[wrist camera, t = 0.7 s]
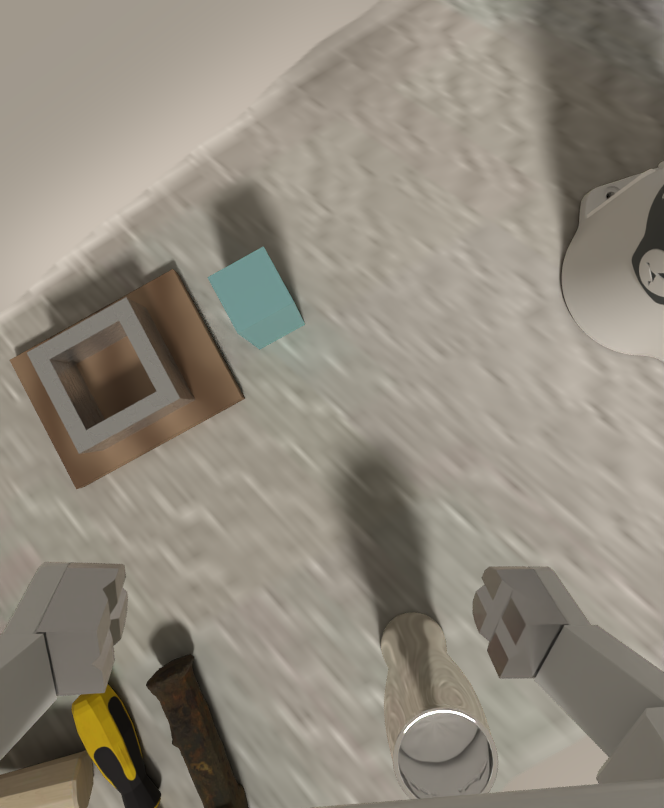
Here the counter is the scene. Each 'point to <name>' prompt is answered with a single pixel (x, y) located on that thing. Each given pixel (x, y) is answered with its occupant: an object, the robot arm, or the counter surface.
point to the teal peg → (256, 299)
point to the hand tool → (196, 734)
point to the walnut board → (140, 381)
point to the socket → (73, 393)
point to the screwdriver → (114, 747)
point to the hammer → (49, 784)
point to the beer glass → (433, 715)
